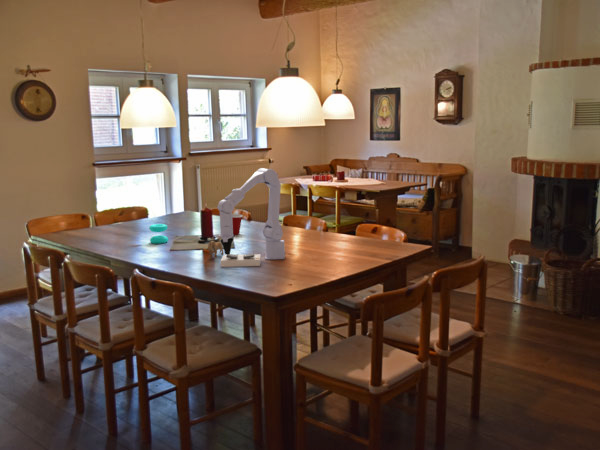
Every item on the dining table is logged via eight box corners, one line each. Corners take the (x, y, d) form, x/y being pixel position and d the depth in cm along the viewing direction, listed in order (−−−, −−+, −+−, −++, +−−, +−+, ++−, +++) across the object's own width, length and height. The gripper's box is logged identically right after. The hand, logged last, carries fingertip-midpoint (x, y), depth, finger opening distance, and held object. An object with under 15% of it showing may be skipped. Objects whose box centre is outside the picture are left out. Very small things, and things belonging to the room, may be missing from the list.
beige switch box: (260, 260, 275) (260, 253, 274) (259, 265, 264) (259, 259, 263) (223, 261, 274) (223, 254, 274) (220, 266, 263) (220, 260, 263)
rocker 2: (254, 256, 268) (254, 252, 268) (254, 258, 265) (253, 254, 264) (244, 257, 269) (243, 254, 268) (243, 259, 265) (243, 256, 264)
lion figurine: (217, 260, 277) (216, 242, 276) (206, 259, 278) (205, 241, 276) (224, 253, 291) (224, 236, 290) (214, 253, 292) (214, 236, 291)
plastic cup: (242, 235, 336) (241, 215, 334) (224, 236, 336) (223, 216, 334) (244, 232, 347) (244, 213, 345) (227, 232, 347) (226, 213, 345)
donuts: (170, 224, 323) (159, 227, 314) (172, 241, 324) (160, 244, 316) (157, 223, 327) (145, 225, 319) (158, 240, 329) (146, 243, 320)
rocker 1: (237, 257, 268) (237, 254, 268) (236, 259, 265) (237, 256, 264) (227, 256, 268) (227, 253, 268) (226, 258, 264) (226, 255, 264)
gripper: (219, 223, 271) (220, 250, 273) (215, 228, 256) (217, 257, 259) (234, 222, 271) (235, 250, 273) (231, 228, 257) (232, 257, 259)
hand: (227, 254), depth 266 cm, fingers closed
